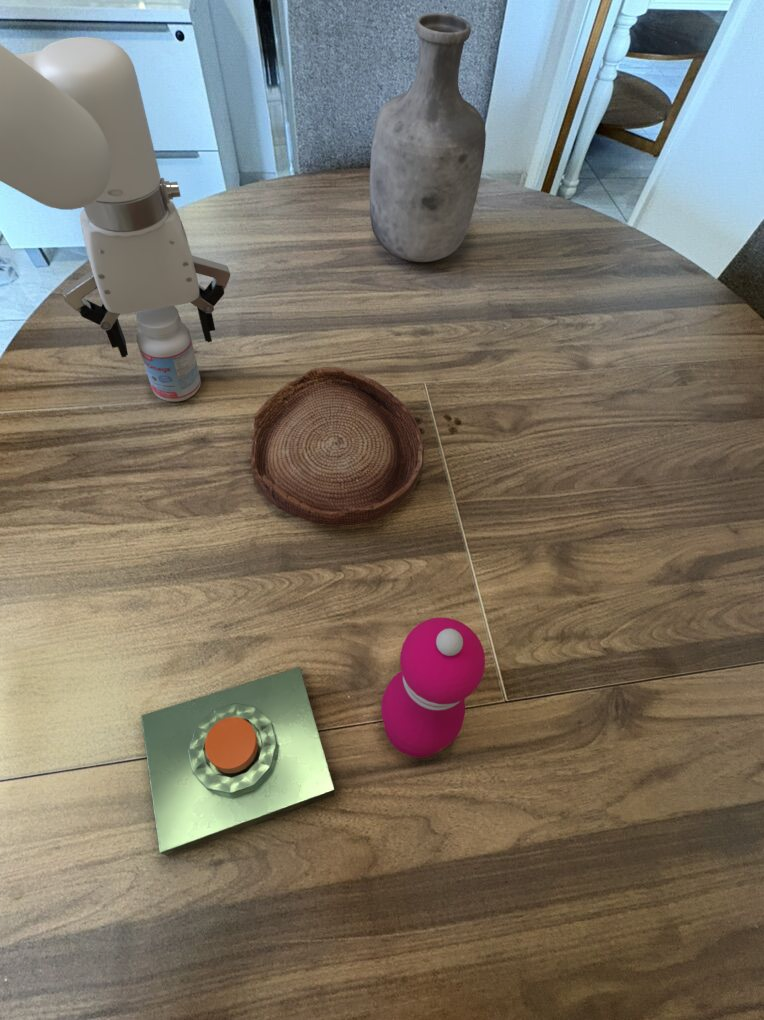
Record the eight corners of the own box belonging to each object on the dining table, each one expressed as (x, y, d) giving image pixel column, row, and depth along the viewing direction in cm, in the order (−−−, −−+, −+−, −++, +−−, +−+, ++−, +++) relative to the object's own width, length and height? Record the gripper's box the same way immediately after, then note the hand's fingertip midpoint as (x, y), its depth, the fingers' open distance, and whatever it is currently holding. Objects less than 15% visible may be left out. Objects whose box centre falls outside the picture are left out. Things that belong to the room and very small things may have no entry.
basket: (239, 402, 78) (234, 373, 73) (392, 382, 81) (395, 353, 77) (266, 553, 66) (262, 528, 61) (444, 520, 69) (451, 495, 65)
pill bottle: (142, 389, 78) (116, 316, 68) (177, 363, 81) (157, 290, 72) (177, 411, 76) (155, 339, 67) (212, 383, 79) (195, 311, 70)
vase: (345, 243, 99) (350, 13, 74) (416, 210, 105) (441, -10, 81) (415, 292, 93) (445, 60, 68) (485, 254, 99) (536, 31, 75)
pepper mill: (366, 744, 55) (379, 665, 39) (394, 672, 59) (418, 572, 43) (442, 777, 54) (489, 709, 37) (466, 701, 58) (518, 610, 41)
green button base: (167, 856, 49) (153, 850, 45) (148, 723, 55) (135, 708, 51) (334, 795, 53) (334, 785, 49) (301, 676, 58) (298, 659, 55)
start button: (213, 780, 49) (210, 776, 47) (204, 731, 51) (200, 725, 49) (263, 763, 50) (261, 758, 48) (252, 716, 52) (249, 710, 50)
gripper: (208, 170, 62) (232, 310, 77) (25, 191, 58) (86, 334, 73) (223, 210, 59) (245, 349, 73) (28, 235, 55) (92, 377, 69)
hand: (165, 341), depth 73 cm, fingers open, 9 cm apart
